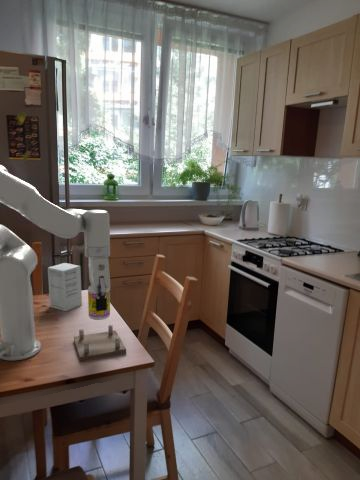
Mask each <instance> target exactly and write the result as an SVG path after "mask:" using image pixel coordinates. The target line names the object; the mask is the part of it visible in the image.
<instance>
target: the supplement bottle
mask: <svg viewBox="0 0 360 480" xmlns="http://www.w3.org/2000/svg"><path fill="white" fill-rule="evenodd" d="M98 288H100V286H99V287H98ZM105 288H106V297H107V310H103V311H96V298H97V295H96V290H95V289H94V288H93V286H92V285H91V284H90V285H89V286H88V288H87V298H88V299H87V302H88V303H87V306H88V318H89V319H90V320H93V321H103V320H106V319H108V318H109V317H110V316H111V287H110V288H109V289H108V288H107V287H106V286H105ZM98 292H101V290H99V291H98Z"/></svg>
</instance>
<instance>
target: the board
mask: <svg viewBox="0 0 360 480" xmlns="http://www.w3.org/2000/svg"><path fill="white" fill-rule="evenodd" d="M107 327H108V331H104V332H95V333H92V334H84V332H85V329H83V328H81V329H79V331H78V335H77V336H73V343H74V346H75V350H76V352H77V355H78V358H79V362H80V363H83V362H87V361H93V360H97V359H98V360H99V359H104V358H108V357H109V358H110V357H115V356H120V355H121V356H122V355H125V354H127V348H126V346H125V344H124V343H123V341H122V340H121V338H120V336H119V334H118V332H117V330H114V327H113V324H109V325H108V326H107Z"/></svg>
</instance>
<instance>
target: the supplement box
mask: <svg viewBox="0 0 360 480" xmlns="http://www.w3.org/2000/svg"><path fill="white" fill-rule="evenodd" d="M81 275H82V271H81V265H76V264H72V263H67V262H63V263H59V264H56V265H53V266H52V265H51V266H48V267H47V278H48V294H49V295H48V297H49V307H50V308H53V309H57V310H60V311H64V312H67V311H70V310H72V309H75V308H78V307H79V306H81V305H83V299H82V297H83V296H82V294H83V293H82V276H81Z"/></svg>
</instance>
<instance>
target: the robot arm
mask: <svg viewBox="0 0 360 480" xmlns="http://www.w3.org/2000/svg"><path fill="white" fill-rule="evenodd" d="M0 203H1V204H3V205H4V206H7V207H8V208H10V209H12V210H15V211H16V212H18V213H19V214H20V215H21V216H23V217H24V218H25V219H26V220H28V221H30V222H31V223H32V224H34V225H35V226H37V227H39V228H41V229H43V230H44V231H46V232H48V233H51V234H53V235H54V236H57V237H58V238H63V239H73V238H76V237H77V236H78V235H79V233H81V232H83V235H84V256H85V258H88V279H89V283H90V285H92V286H93V288H94V289H95V290H96V295H97V298H96V311H103V310H107V297H106V288H105V286H106V287H107V288H108V289H109V288H110V289H111V275H110V272H111V271H110V263H109V257H110V256H111V236H110V232H111V228H110V227H111V225H110V213H109V212H108V211H107V210H104V209H90V210H85V209H79V208H78V209H77V208H66V209H63V208H62V207H60V206H58V205H55V204H54V203H52V202H50V201H49V200H47V199H45V198H44V197H43V196H42V195H41V194H40V192H39V191H38V190H37V188H36V187H35V186H34V185H32V184H30V183H29V182H26V181H24V180H22V179H20V178H19V177H17V176H15V175H13V174H11V173H10V172H9V170H8V169H7V168H6V167H5V166H4V165H2V164H0ZM37 265H38V256H37V253H36V252H35V250H34V249H33V248H32V247H31V246H30V245H28V244H27V243H26V242H25V240H23V239H21V237H19V236H18V235H17V234H16V233H14V232H13V231H12V230H10V229H9V227H6V226H5V225H4V224H0V337H1V340H0V359H1V360H3V361H11V362H12V361H20V360H25V359H28V358H31V357H33V356H34V355H37V353H39V352H40V351H41V348H42V343H41V341H40V340H37V339H36V328H35V327H36V326H35V312H34V311H35V310H34V295H33V287H32V282H31V274H32V272H33V271H34V270H35V269H36V267H37ZM99 286H100V288H98V287H99ZM99 290H101V292H98V291H99Z"/></svg>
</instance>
